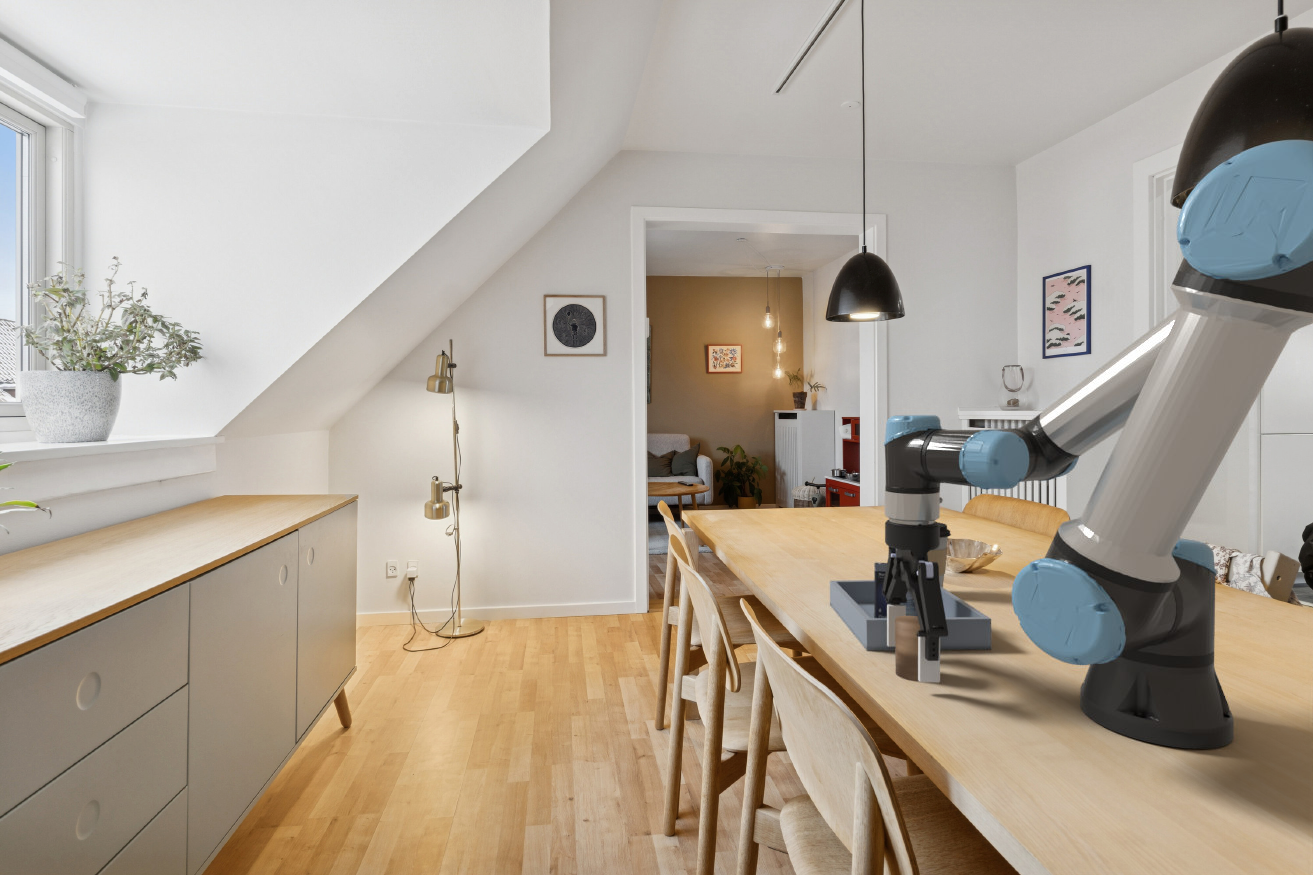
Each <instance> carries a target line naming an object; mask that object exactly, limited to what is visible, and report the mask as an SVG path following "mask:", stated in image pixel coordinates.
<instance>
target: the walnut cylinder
mask: <svg viewBox="0 0 1313 875" xmlns="http://www.w3.org/2000/svg"><path fill="white" fill-rule="evenodd" d="M918 631H921V629H920V625H919V621H918V616H899V617H897V618H895V650H894V651H895V675H896V676H898V677H899V678H901V679H904V680H908V681H913V682H919V681H918V637H917V635H916V634H917V632H918Z"/></svg>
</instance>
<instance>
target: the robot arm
mask: <svg viewBox="0 0 1313 875" xmlns="http://www.w3.org/2000/svg"><path fill="white" fill-rule="evenodd" d="M1176 238H1177V239H1176V240H1177V242H1178V244H1179V248H1180V250H1181V254H1182V256H1183V258H1182V261H1181V263H1180V265H1179V268H1178V269H1177V272H1176V274H1175V277H1174V278H1173V280H1172V283H1171V285H1170V289H1171V291H1172V292H1173V294H1174V296H1175V299H1176V300H1177V302H1178V304H1179V307H1178V308H1177V309H1176V310H1175V311H1173V312H1172V313H1171V314H1169V315H1168V316H1167V317H1165V318H1164V319H1163V320H1162V321H1160V322H1158V324H1156V325H1155V326H1154V327H1152V328H1151V329H1149V330H1148V331H1147V332H1145V333H1144V334H1143V335H1141V336H1140V337H1139V338H1138V339H1136V340H1135V341H1134V342H1133V343H1131V344H1130V345H1129V346H1127V347H1126V348H1124V349H1123V350H1122V351H1120V352H1119V353H1118V354H1116V355H1115V356H1114V357H1112V358H1111V359H1110V360H1109V361H1108V362H1106V363H1105V364H1103V365H1102V366H1101V367H1099V368H1098V369H1097V370H1095V371H1094V372H1093V373H1091V374H1090V375H1089V376H1087V377H1086V378H1085V379H1083V380H1082V381H1081V382H1080V383H1078V384H1076V385H1075V386H1074V387H1073V388H1071V389H1070V390H1069V391H1068V392H1066V393H1065V394H1064V395H1062V396H1061V397H1059V398H1058V399H1057V400H1056V401H1054V402H1053V403H1052V404H1050V405H1049V406H1048V407H1047V408H1045V409H1044V410H1043V411H1042V412H1040V413H1039V414H1038V415H1036V416H1035V417H1033V418H1032V419H1031V420H1030V421H1027V423H1025V424H1024V425H1023V426H1021V427H1016V428H1014V427H1013V428H998V429H997V428H995V429H991V428H990V429H945V428H943V427H942V426H941V419H940V417H939V416H938V415H935V414H934V415H933V414H928V415H927V414H926V415H925V414H909V415H908V414H905V415H903V414H902V415H891V416H890V417H889V418H888V419H887V421H886V423H885V425H886V426H885V435H884V443H883V446H884V456H885V457H884V462H885V463H884V464H885V490H884V516H885V517H886V518H888V519H887V520H886V521H884V522H885V523H884V544H886V546H888V556H887V557H888V558H887V562H886V563H887V567H886V572H885V578H884V583H883V589H882V594H883V596H886V602H887V603H889V605H887V645H888V647H895V618H897V617H899V616H906V606H905V605H900V603H908V602H906V601H907V598H906V594H907V592H908V590H909V591H911V592H912V596H913V600H914V604H915V608H916V612H917V616H918V621H919V625H920V629H921V631H918V632H917V634H916V635H917V637H918V681H917V682H919V683H940V682H941V650H940V637H947V636H948V628H947V623H946V617H945V611H944V605H943V599H942V593H941V588H940V582H939V566H938V563H937V562H929V560H928V555H927V554H928V552H929V551H930V550H934V549H937V548H938V547H939V545H940V525H939V524H938V523H939V522H937V521H938V519H939V518H940V516H941V515H940V514H941V513H940V511H941V510H940V509H941V508H940V505H941V504H942V503H943V501H944V500H943V499H944V498H943V497H941V496H940V494H941V493H940V492H941V488H940V487H941V484H947V485H948V484H950V485H959V486H964V487H973V488H979V489H981V490H991V489H992V490H1010V489H1014V488H1016V486H1018V484H1020V483H1023V482H1024V483H1025V482H1037V481H1038V482H1047V481H1051V480H1054V479H1057V478H1062V477H1063V476H1066V475H1068V474H1069V473H1071V471H1073V469H1075V467H1076V466H1077V463H1078V461H1079V459H1080V456H1082V455H1084V454H1085V453H1087V452H1088V451H1089V450H1091V449H1093V448H1094V447H1096V446H1097V445H1099V444H1101V443H1102V442H1104V441H1106V440H1107V439H1108V438H1110V437H1111V436H1113V435H1114V434H1116V433H1117V432H1119V431H1120V430H1121V433H1120V435H1119V436H1118V439H1117V441H1116V444H1115V445H1114V448H1113V449H1112V452H1111V454H1110V455H1109V458H1108V460H1107V462H1106V464H1105V466H1104V468H1103V470H1102V473H1101V475H1100V476H1099V479H1098V481H1097V482H1096V485H1095V486H1094V489H1093V491H1092V493H1091V494H1090V497H1089V499H1088V502H1087V504H1086V506H1085V508H1084V510H1083V512H1082V514H1081V516H1079V517H1078V518H1075V519H1069V520H1067V521H1063V522H1061V523H1060V525H1059V526H1058V528H1057V530H1056V533H1055V535H1054V537H1053V539H1052V541H1051V544H1050V545H1049V547H1048V550H1047V551H1046V554H1045V556H1044V557H1043V558H1039V559H1036V560H1033V561H1031V562H1029V564H1027V565H1025V566H1024V567H1023V568H1022V569H1021V570H1019V572H1018V573H1017V575H1016V576H1015V578H1014V580H1013V584H1012V588H1011V604H1012V610H1013V612H1014V614H1015V616H1017V618H1018V621H1019V626H1020V628H1021V629H1022V631H1023V632H1024V634H1025V635H1026V636H1027V638H1028V639H1029V640H1030V641H1031V642H1032V643H1033V644H1034V645H1035V646H1036V647H1037V648H1039V649H1040V650H1041V651H1042V652H1043V653H1045V654H1046V655H1048V656H1050V657H1051V658H1053V659H1056V660H1057V661H1059V662H1063V663H1066V664H1069V665H1075V666H1089V667H1088V669H1087V671H1086V673H1085V674H1086V675H1085V677H1084V680H1083V683H1082V684H1081V686H1080V692H1079V693H1080V695H1079V699H1080V704H1079V705H1080V710H1081V711H1082V713H1084V715H1085V716H1087V717H1088V719H1091V720H1092V721H1093V722H1095V723H1096V724H1099V725H1100V726H1102V727H1104V728H1106V729H1108V730H1111V731H1113V732H1116V733H1118V734H1121V735H1123V736H1126V737H1129V738H1131V739H1136V740H1140V741H1144V742H1148V743H1151V744H1155V745H1156V744H1157V745H1161V746H1165V747H1166V746H1167V747H1174V748H1180V749H1181V748H1182V749H1194V750H1202V749H1203V750H1206V749H1207V750H1208V749H1217V748H1220V747H1226V746H1227V745H1229V744H1230V743H1232V742H1233V740H1234V731H1235V729H1234V727H1235V726H1234V716H1233V714H1232V711H1231V710H1230V707H1229V703H1228V700H1227V698H1226V695H1225V692H1224V689H1223V687H1222V685H1221V682H1220V680H1219V677H1218V674H1217V671H1216V668H1215V637H1216V636H1215V629H1216V628H1215V625H1216V624H1215V622H1216V618H1215V617H1216V611H1215V610H1216V577H1217V575H1218V570H1217V569H1216V567H1215V566H1216V565H1215V554H1214V551H1213V549H1212V548H1211V546H1209V545H1208V544H1207V543H1205V542H1203V541H1200V540H1195V539H1194V540H1193V539H1188V538H1181V537H1182V534H1183V533H1184V531H1185V529H1186V527H1187V525H1188V523H1189V522H1190V520H1191V518H1192V517H1193V514H1194V513H1195V511H1196V509H1197V507H1198V505H1199V503H1200V502H1201V500H1202V498H1203V496H1204V494H1205V492H1206V491H1207V489H1208V487H1209V485H1210V484H1211V482H1212V480H1213V478H1214V476H1215V474H1216V473H1217V471H1218V470H1219V469H1218V468H1219V467H1220V466H1221V464H1222V462H1223V460H1224V458H1225V457H1226V455H1227V453H1228V451H1229V449H1230V447H1231V445H1232V443H1233V442H1234V440H1235V438H1236V436H1237V434H1238V432H1239V431H1240V429H1241V427H1242V424H1243V423H1244V422H1245V421H1246V420H1245V419H1246V417H1247V416H1248V414H1249V412H1250V410H1251V408H1252V407H1253V405H1254V403H1255V401H1256V400H1257V398H1258V396H1259V394H1260V392H1261V391H1262V389H1263V387H1264V385H1265V383H1266V381H1267V380H1268V377H1269V376H1270V374H1271V372H1272V371H1273V368H1274V367H1275V365H1276V363H1277V361H1278V359H1279V358H1280V356H1281V354H1282V352H1283V351H1284V349H1285V347H1286V346H1287V343H1288V341H1289V339H1291V338H1290V337H1291V336H1292V334H1293V333H1295V332H1296V331H1298V330H1299V329H1302V328H1304V327H1307V326H1310V325H1313V140H1307V139H1305V140H1304V139H1286V140H1279V141H1278V140H1277V141H1272V142H1267V143H1263V144H1260V145H1257V146H1254V147H1251V148H1248V149H1246V150H1243V151H1241V152H1240V153H1238V154H1236V155H1234V156H1232V157H1231V158H1229V159H1227V160H1226V161H1223V162H1222V163H1220V164H1219V165H1218V166H1216V167H1215V168H1213V169H1212V170H1211V171H1209V172H1208V173H1207V174H1206V175H1205V176H1204V177H1203V178H1201V180H1200V181H1199V182H1198V183H1197V185H1196V186H1195V187H1194V188H1193V189H1192V190H1191V192H1190V193H1189V195H1188V196H1187V197H1186V200H1185V201H1184V203H1183V204H1182V206H1181V210H1180V212H1179V215H1178V220H1177V224H1176ZM933 626H934V627H933Z"/></svg>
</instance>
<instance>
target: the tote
mask: <svg viewBox="0 0 1313 875" xmlns="http://www.w3.org/2000/svg"><path fill="white" fill-rule="evenodd" d="M940 588H941V593H942V599H943V605H944V611H945V617H946V623H947V628H948V636H947V637H940V651H953V650H954V651H956V650H957V651H959V650H961V651H963V650H964V651H965V650H967V651H969V650H973V651H974V650H979V651H980V650H992V618H991V617H989V616H988V615H986V614H984V613H983V612H981V611H980V610H978V609H977V608H975V607H973V606H972V605H970V604H969V603H968V602H965V601H964V600H963V599H961V598H960V597H958V596H956V595H955V594H953V593H951V591H948V590H947V589H946V588H944V586H943V587H941V586H940ZM829 606H830V607H831V609H833V611H834V612H835V613H836V614H837V615H838V617H839V618H840V619H841V620H842V621H843V623H844V625H845V626H846V627H847V628H848V630H850V632H851V633H852V634H853V635H854V636H855V638H856V639H857V640H858V641H859V643H860V644H861V645H862V646H863V647H864V648H865V650H866V651H867V652H869V651H895V647H888V645H887V618H874V579H859V580H855V579H854V580H851V579H850V580H849V579H848V580H845V579H844V580H829ZM933 627H934V626H933Z"/></svg>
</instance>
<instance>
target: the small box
mask: <svg viewBox="0 0 1313 875" xmlns="http://www.w3.org/2000/svg"><path fill="white" fill-rule="evenodd" d="M873 566H874V579H873V580H874V618H887V605H889V603H887V602H886V596H883V594H882V589H883V583H884V578H885V572H886V567H887V562H874V565H873ZM906 598H907V601H906V602H908V603H900V605H905V606H906V616H917V612H916V608H915V604H914V600H913V596H912V592H911V591H909V590H908V592H907V594H906Z"/></svg>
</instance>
